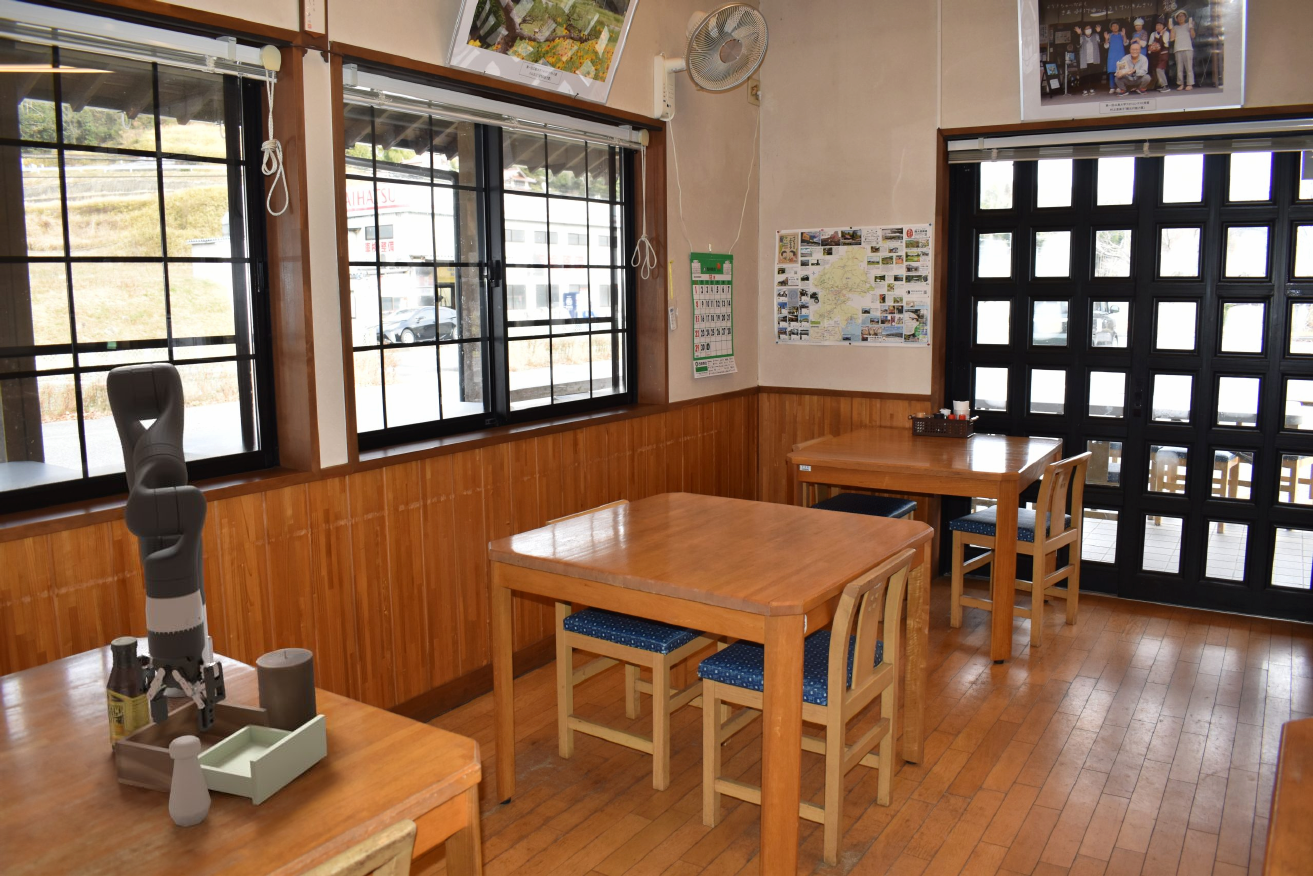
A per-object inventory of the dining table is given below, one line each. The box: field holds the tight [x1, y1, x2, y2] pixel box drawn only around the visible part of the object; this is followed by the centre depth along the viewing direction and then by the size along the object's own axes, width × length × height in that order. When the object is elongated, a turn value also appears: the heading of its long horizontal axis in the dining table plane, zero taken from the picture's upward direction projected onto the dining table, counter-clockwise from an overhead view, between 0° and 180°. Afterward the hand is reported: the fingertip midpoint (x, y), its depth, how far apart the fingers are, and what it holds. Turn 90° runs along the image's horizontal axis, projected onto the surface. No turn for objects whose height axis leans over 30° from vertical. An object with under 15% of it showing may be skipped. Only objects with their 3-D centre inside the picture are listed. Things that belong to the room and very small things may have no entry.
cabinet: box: [114, 699, 269, 794], centre depth 165 cm, size 18×15×7 cm
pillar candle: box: [255, 647, 318, 732], centre depth 178 cm, size 10×10×15 cm
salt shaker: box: [168, 735, 212, 828], centre depth 148 cm, size 6×6×13 cm
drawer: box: [198, 713, 328, 806], centre depth 161 cm, size 17×15×7 cm
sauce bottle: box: [105, 636, 151, 753], centre depth 170 cm, size 7×6×20 cm
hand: (183, 725), depth 146 cm, fingers open, 8 cm apart
